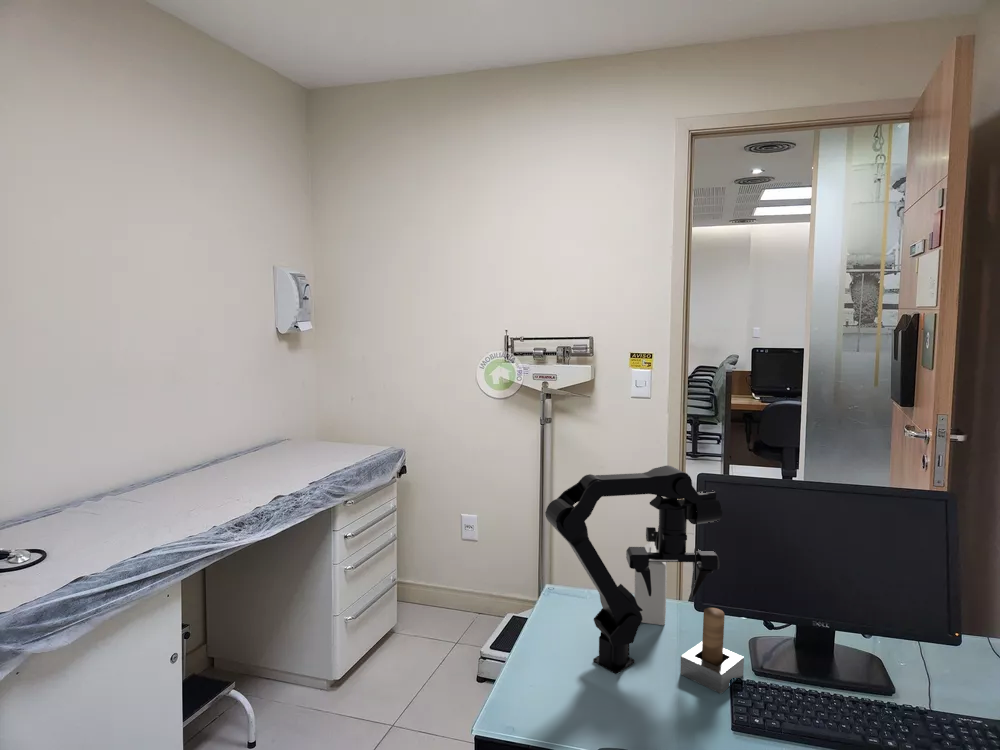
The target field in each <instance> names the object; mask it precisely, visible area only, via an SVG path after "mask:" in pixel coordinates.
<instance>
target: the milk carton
mask: <svg viewBox="0 0 1000 750" xmlns="http://www.w3.org/2000/svg"><path fill="white" fill-rule="evenodd" d="M643 547H645V549H646V551H647V552H650V553H658V550H656V546H655V542H648V543H646V544H645V545H644V546H643ZM667 565H668V562H649V566H648V567H649V569H650V576H651V590H652V592H651V596H649V595H648V591H647V588H646V585H645V582H644V578H643V576H642V574H641V573H639V572H636V570H635V569H634V595H633V596H634V597H635V599H636V602H637V605H638V606H639V607H640V608H641V609H642V611H640V613H641V615H642V621H641V623H644V624H651V625H658V626H659V625H660V626H665V625H666V624H665V623H666V613H667V570H668V568H667Z"/></svg>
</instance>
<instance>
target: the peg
mask: <svg viewBox="0 0 1000 750" xmlns="http://www.w3.org/2000/svg"><path fill="white" fill-rule="evenodd" d="M702 618H703V625H702V641H701V642H702V660H704V661H706V662H708V663H710V664H713V665H715V666H717V667H718V666H719V665H721V664H722V659H723V648H724V638H725V637H724V635H725V612H724V611H723V610H722V609H719V608H716V607H706V608H704V609H703V616H702Z"/></svg>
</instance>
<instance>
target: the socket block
mask: <svg viewBox="0 0 1000 750" xmlns="http://www.w3.org/2000/svg"><path fill="white" fill-rule="evenodd" d="M744 663H745V657H744V656H742V655H741V654H738V653H736V652H733V651H730V650H729V649H726V648H725V647H723V659H722V664H721V665H719V666H718V667H717V666H715V665H713V664H710V663H708V662H706V661H704V660H702V641H700V642H699V643H697V644H695V646H693V647H692V648H690V649H688V650H687V651H686V652H685V653H683V654H682V655H680V672H679V673H680V675H681V676H683V677H685V678H687V679H690V680H691V681H694V682H695V683H698V684H699V685H702V686H704V687H706V688H708V689H710V690H711V691H715V692H716V693H718V694H721V695H722V694H723V693H724V692H725V691H727V690H728V689H729V688H730V687H729V683H730V680H731V679H732V678H740V679H741V678H743V676H744V669H745V667H744V666H745V665H744ZM728 687H729V688H728Z"/></svg>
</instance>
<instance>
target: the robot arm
mask: <svg viewBox="0 0 1000 750" xmlns="http://www.w3.org/2000/svg"><path fill="white" fill-rule="evenodd" d="M700 492H701V493H700ZM634 495H635V496H636V495H637V496H639V495H652V496H653V495H655V497H654V498H653V499H651V500H650V501H649V505H650V506H651V507H653V508H655V509H656V510H658V526H657V528H656V527H653V526H652V527H651V526H649V527H647V526H646V528H645V541H646V542H648V543H649V542H654V543H655V546H656V550H658V553H650V552H647V551H646V549H645V547H644V546H628V547H627V549H626V551H625V552H626V554H625V555H626V556H625V557H626V561H627V564H628V567H629V569H632V570H634V571H635V570H636V572H639V573H641V574H642V576H643V578H644V582H645V585H646V588H647V591H648V595H649V596H651V592H652V590H651V576H650V569H649V567H648V566H649V562H667V563H692V576H691V577H692V578H691V586H690V588H691V589H690V592H691V593H690V594H691V597H693V598H694V597H696V594H697V593H698V590H699V589H700V587H701V585H702V583H703V581H705V579H706V578H707V576H708V574H713V572H714V570H715V571H718V570H719V569H720V557H719V556H718V554H717V553H716V551H715V550H714V551H715V552H714V551H701V550H699V549H698V551H696V562H697V563H696V580H695V548H694V549H693V552H686V551H687V541H688V534H687V524H688V523H687V521H688V522H689V523H690V524H692V525H700V524H709V523H708V522H710V523H715V522H714V521H717V520H719V521H720V520H721V519H722V517H723V509H722V506H721V501H719V499H718V498H717V491H714V492H706V493H703V491H697V490H696V488H695V487H694V486H693V481H692V478H691V476H690V475H689V474H688V473H687V472H685V471H684V470H683V471H682V470H680V469H678V468H676V467H674V466H672V465H663V466H658V467H653V468H652V469H650V470H648V471H644V472H639V473H636V472H635V473H615V474H596V475H595V474H591V473H590V474H586V475H584V476H582V478H580V480H579V481H578V482H576V483H575V484H574V485H572V486H569V488H567V489H566V490H564V491H562V493H561V494H560V495H559V496H558V497H557V498H556V499H554V500H552V501H550V502H549V503H548V505H547V507H546V510H545V512H544V513H545V519H546V520H547V521H548V523H550V525H551V526H552V527H553V528H554V529H555V530H556V531H557V532H558V533H559V534H560V536H561V537H562V538H563V539H565V541H566V542H567V543H568V544H569V546H570V547H571V549H572V552H574V554H575V556H576V557H577V559H578V561H579V562H580V564H581V566H582V567H583V569H584V570H585V572H586V574H587V576H588V577H589V579H590V580H591V582H592V584H593V585H594V586H595V588H596V589H595V590H597V592H598V594H599V599H600V604H601V606H602V608H601V609H600V611H598V613H597V614H596V615H595V616H594V617H593V622H594V625H595V627H596V628H597V629H598V630H599V631H600V636H599V637H598V656H597V655H596V657H594V658H593V659H592V662H593V663H595V664H596V665H598V666H601V667H603V668H604V669H606V670H608V671H610V672H611V673H614V674H616V675H617V674H620V673H621V672H623V671H624V670H626V669H627V668H629V667H630V666H631V665H634V664H635V662H636V661H635V659H634V658H633V657H630V644H633V643H634V641H635V638H636V635H637V633H638V630H639V627H641V624H642V622H641V621H642V615H641V613H640V611H642V609H641V608H640V607H639V606H638V605H637V602H636V599H635V597H634V596H635V595H633V593H632V592H631V591H630V590H628V589H627V588H626V587H625V586H624V585H623V584H622V583H619V585H617V584H616V581H615V580H614V578H613V576H612V575H611V573H610V572H609V570H608V568H607V567H606V565H605V563H604V562H603V559H601V556H600V555H599V553H598V552H597V550H596V548H595V547H594V544H593V543H592V541H591V540H590V537H589V532H588V526H587V523H586V520H587V519H588V518H589V517H590V516H591V515H592V513H593V511H594V509H595V506H597V505H596V504H597V503H598V501H599V500H600V499H601V498H602V497H617V496H618V497H619V496H622V497H623V496H634ZM575 504H576V505H575ZM574 505H575V506H574ZM696 511H697V512H696ZM696 521H697V524H696ZM717 522H718V521H717ZM697 564H698V566H697ZM694 583H695V588H694ZM693 588H694V590H693Z"/></svg>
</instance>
